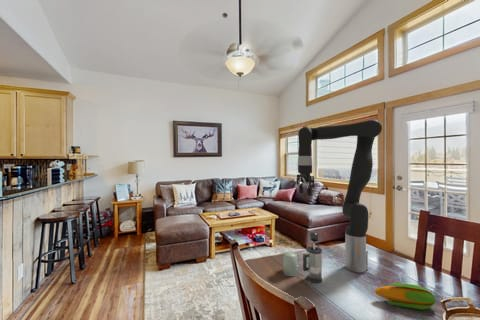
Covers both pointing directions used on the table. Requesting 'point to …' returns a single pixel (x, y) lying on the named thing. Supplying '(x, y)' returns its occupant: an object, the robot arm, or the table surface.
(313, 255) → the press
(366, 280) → the table surface
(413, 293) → the corn
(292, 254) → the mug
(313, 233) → the plunger
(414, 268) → the table surface
